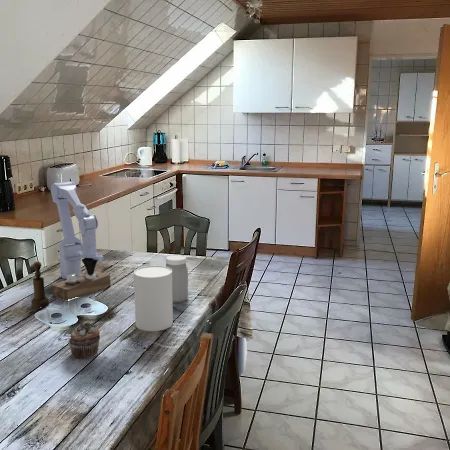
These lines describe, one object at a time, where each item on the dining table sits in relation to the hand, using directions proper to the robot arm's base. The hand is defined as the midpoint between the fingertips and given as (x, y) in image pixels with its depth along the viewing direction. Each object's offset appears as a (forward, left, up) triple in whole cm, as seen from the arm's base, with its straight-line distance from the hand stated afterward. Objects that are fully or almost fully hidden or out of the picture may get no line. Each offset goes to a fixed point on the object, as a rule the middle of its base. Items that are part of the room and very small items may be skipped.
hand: (90, 274), depth 216 cm
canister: (+47, -12, -6) cm, 49 cm away
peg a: (0, -10, -2) cm, 10 cm away
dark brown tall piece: (-1, -25, -6) cm, 26 cm away
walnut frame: (0, -5, -6) cm, 8 cm away
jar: (+39, +11, -6) cm, 41 cm away
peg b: (0, 0, -5) cm, 5 cm away
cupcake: (+44, -42, -6) cm, 62 cm away
